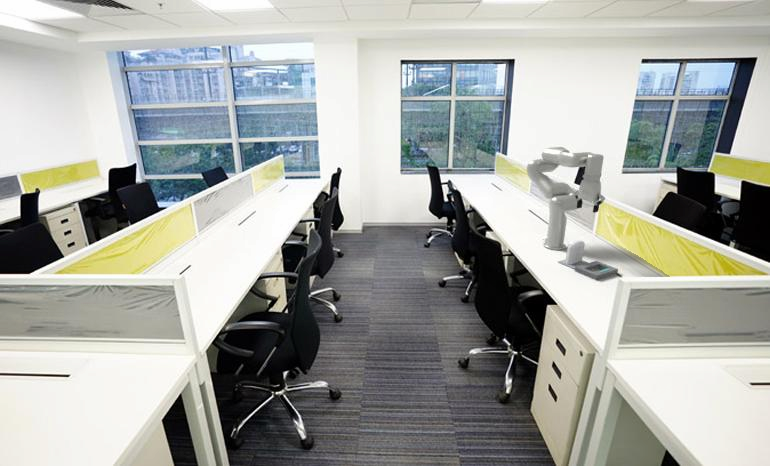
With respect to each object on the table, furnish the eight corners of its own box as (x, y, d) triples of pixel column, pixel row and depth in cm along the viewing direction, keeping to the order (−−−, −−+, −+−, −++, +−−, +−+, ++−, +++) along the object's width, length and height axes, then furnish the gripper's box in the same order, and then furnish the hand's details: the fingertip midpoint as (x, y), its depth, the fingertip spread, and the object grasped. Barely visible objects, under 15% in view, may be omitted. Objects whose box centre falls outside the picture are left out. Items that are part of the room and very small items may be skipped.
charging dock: (574, 271, 188) (575, 266, 187) (595, 265, 194) (596, 260, 193) (595, 280, 178) (596, 274, 177) (617, 273, 184) (618, 268, 183)
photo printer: (576, 258, 202) (579, 238, 198) (583, 261, 198) (586, 240, 194) (564, 262, 197) (566, 241, 193) (571, 265, 194) (574, 244, 190)
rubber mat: (557, 262, 199) (557, 261, 199) (574, 257, 204) (574, 257, 204) (573, 269, 191) (573, 268, 190) (590, 264, 195) (590, 263, 195)
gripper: (572, 176, 194) (568, 207, 200) (602, 181, 179) (597, 214, 185) (582, 175, 197) (577, 205, 203) (612, 180, 182) (607, 212, 188)
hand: (587, 210), depth 194 cm, fingers open, 9 cm apart
